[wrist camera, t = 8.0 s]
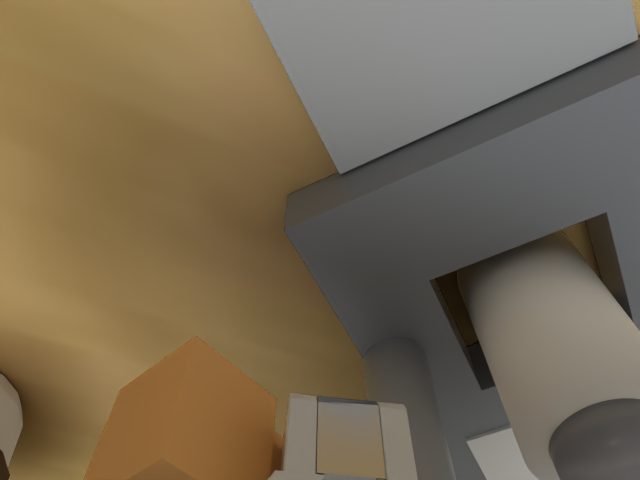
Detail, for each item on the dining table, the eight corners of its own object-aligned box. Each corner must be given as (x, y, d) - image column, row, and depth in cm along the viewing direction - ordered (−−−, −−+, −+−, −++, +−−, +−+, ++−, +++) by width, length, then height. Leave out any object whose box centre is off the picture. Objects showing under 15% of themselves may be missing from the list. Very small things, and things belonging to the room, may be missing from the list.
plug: (553, 319, 23) (665, 514, 15) (446, 311, 22) (508, 506, 15) (592, 225, 20) (748, 403, 13) (473, 215, 20) (563, 391, 13)
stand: (723, 443, 27) (1009, 816, 16) (471, 512, 30) (561, 866, 19) (659, 26, 17) (1357, 262, 5) (282, 197, 20) (238, 573, 8)
